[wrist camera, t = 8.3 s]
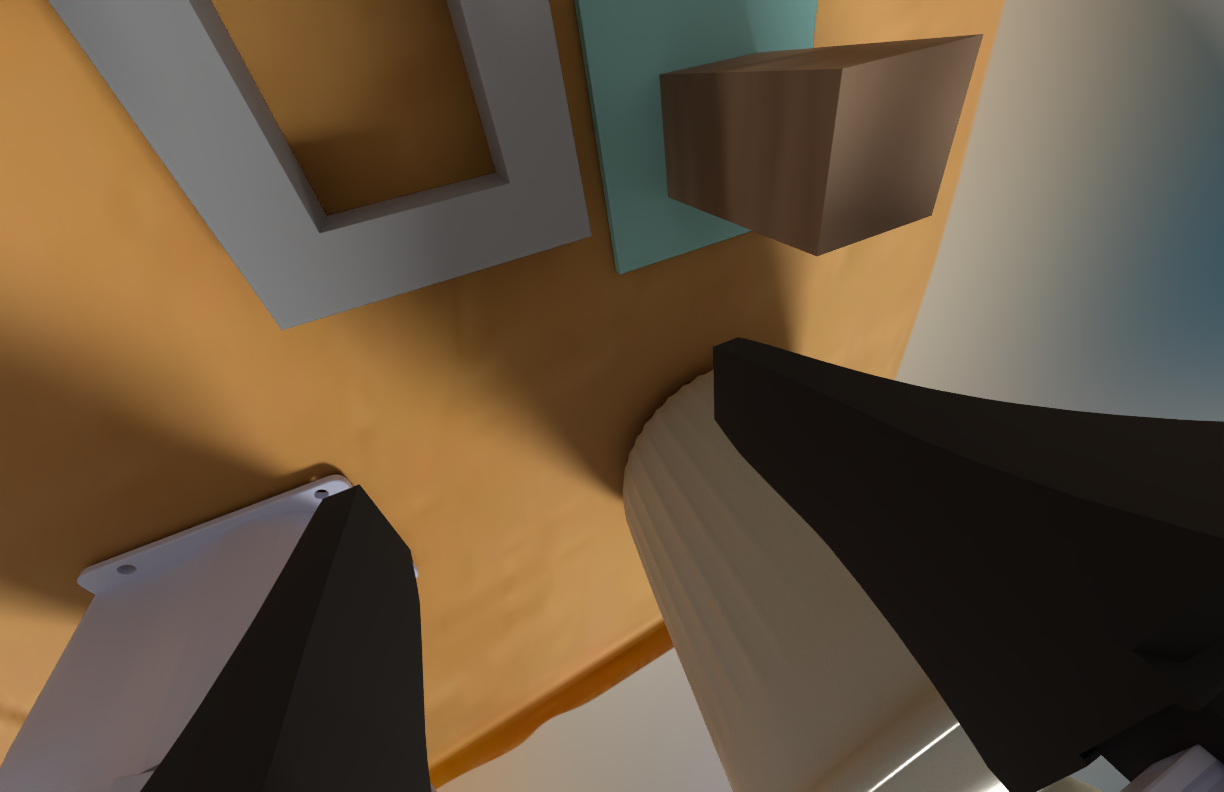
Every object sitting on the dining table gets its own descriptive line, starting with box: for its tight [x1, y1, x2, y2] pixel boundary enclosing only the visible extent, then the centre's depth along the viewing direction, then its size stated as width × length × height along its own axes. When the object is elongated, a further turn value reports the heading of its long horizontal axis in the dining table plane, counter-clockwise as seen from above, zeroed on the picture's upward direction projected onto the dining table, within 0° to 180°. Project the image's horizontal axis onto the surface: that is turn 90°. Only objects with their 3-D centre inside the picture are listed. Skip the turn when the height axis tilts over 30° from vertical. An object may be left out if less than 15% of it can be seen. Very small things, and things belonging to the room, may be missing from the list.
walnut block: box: [659, 34, 983, 256], centre depth 14 cm, size 4×4×8 cm
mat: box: [574, 0, 817, 274], centre depth 17 cm, size 9×9×1 cm
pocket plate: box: [48, 0, 592, 330], centre depth 12 cm, size 10×10×2 cm
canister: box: [623, 369, 1103, 792], centre depth 20 cm, size 18×18×21 cm
